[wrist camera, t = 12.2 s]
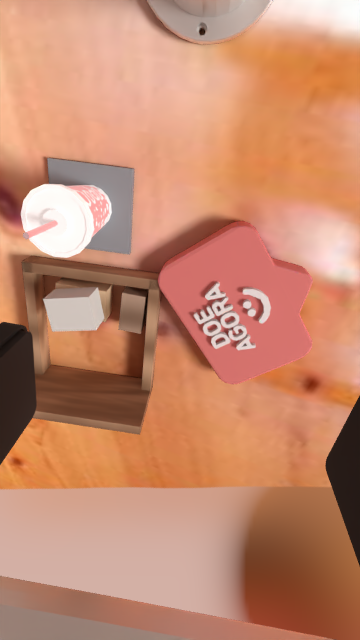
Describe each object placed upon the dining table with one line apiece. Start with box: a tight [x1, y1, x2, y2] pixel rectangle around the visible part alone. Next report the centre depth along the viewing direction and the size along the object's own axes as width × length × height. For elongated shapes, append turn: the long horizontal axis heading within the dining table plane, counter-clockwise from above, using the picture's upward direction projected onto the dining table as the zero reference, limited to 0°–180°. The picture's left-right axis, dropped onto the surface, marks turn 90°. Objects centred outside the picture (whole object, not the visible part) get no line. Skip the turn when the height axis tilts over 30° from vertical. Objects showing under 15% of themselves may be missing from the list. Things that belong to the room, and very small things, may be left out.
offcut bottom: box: [55, 277, 113, 322], centre depth 40 cm, size 4×6×3 cm, turn 82°
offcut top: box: [43, 287, 104, 331], centre depth 38 cm, size 4×5×3 cm
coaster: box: [47, 158, 134, 254], centre depth 36 cm, size 9×9×1 cm
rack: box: [22, 256, 161, 434], centre depth 39 cm, size 17×16×9 cm
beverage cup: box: [21, 184, 112, 258], centre depth 30 cm, size 6×6×14 cm
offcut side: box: [118, 286, 149, 334], centre depth 41 cm, size 5×3×2 cm, turn 170°
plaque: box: [158, 221, 312, 384], centre depth 39 cm, size 18×4×15 cm
